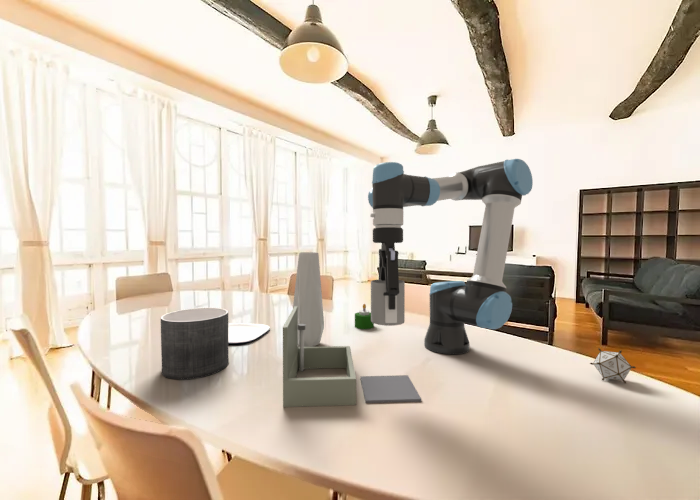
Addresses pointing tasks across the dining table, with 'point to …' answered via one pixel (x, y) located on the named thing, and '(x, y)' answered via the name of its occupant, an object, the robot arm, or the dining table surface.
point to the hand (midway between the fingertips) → (387, 317)
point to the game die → (612, 365)
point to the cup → (379, 303)
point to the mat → (389, 389)
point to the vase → (309, 298)
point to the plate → (245, 332)
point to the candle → (363, 319)
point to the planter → (194, 342)
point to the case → (295, 358)
